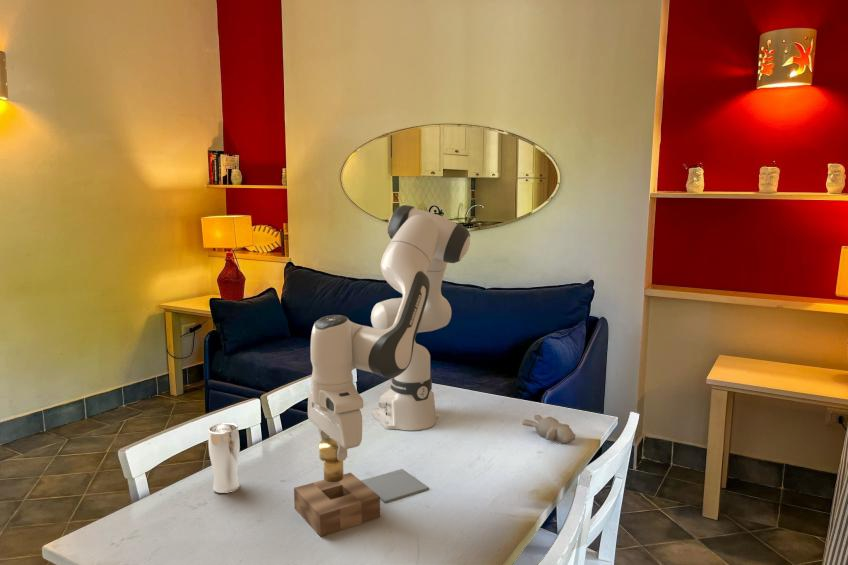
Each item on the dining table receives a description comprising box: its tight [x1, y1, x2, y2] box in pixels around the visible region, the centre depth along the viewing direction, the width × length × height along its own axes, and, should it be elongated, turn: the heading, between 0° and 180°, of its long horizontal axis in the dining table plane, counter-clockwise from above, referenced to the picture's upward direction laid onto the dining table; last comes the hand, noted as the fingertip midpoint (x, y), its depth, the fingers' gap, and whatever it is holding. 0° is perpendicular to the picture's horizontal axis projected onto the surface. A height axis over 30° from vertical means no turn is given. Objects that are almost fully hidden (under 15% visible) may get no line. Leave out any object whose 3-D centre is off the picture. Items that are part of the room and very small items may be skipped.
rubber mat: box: [360, 468, 430, 504], centre depth 150 cm, size 12×12×1 cm
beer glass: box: [207, 422, 241, 493], centre depth 147 cm, size 7×7×15 cm
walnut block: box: [293, 472, 381, 538], centre depth 137 cm, size 14×14×5 cm
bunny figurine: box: [521, 414, 576, 444], centre depth 180 cm, size 10×5×15 cm
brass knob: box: [318, 437, 348, 482], centre depth 136 cm, size 6×6×8 cm
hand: (333, 453), depth 135 cm, fingers closed on brass knob, 6 cm apart
